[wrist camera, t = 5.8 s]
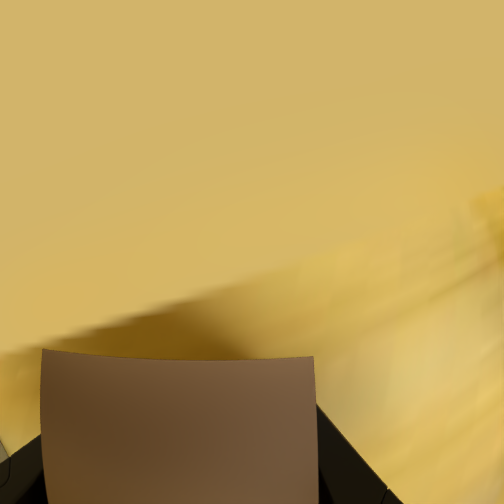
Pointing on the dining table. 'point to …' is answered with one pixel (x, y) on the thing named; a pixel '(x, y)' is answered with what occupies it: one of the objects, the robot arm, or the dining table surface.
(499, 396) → the dining table surface
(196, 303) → the dining table surface
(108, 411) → the walnut block
